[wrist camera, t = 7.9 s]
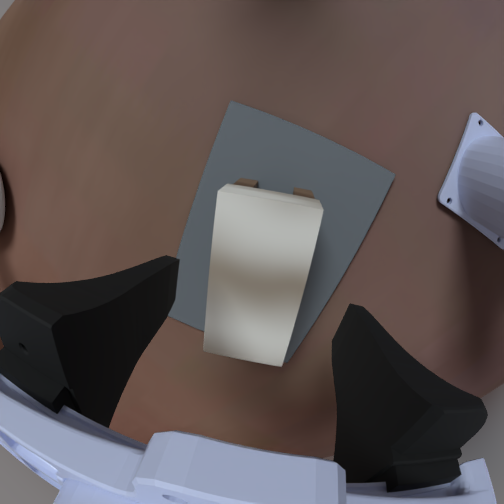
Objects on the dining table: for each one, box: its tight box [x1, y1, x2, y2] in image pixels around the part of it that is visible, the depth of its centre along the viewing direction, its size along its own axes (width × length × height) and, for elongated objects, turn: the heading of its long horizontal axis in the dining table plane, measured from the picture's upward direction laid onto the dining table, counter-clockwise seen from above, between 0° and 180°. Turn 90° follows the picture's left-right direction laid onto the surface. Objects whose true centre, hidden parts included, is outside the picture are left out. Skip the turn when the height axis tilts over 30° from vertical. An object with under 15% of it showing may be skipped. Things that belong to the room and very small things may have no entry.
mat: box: [168, 101, 396, 363], centre depth 21 cm, size 18×12×1 cm, turn 158°
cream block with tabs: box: [203, 178, 324, 367], centre depth 18 cm, size 10×5×6 cm, turn 171°
